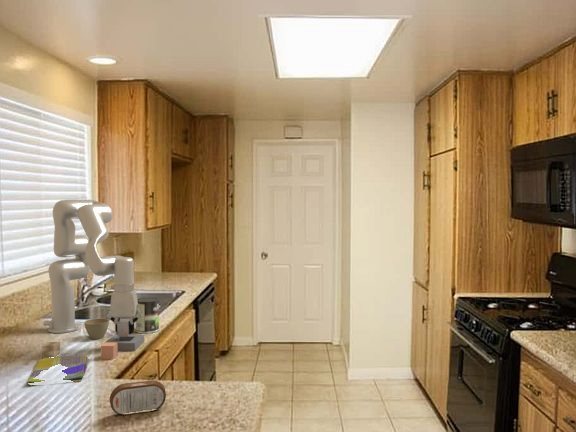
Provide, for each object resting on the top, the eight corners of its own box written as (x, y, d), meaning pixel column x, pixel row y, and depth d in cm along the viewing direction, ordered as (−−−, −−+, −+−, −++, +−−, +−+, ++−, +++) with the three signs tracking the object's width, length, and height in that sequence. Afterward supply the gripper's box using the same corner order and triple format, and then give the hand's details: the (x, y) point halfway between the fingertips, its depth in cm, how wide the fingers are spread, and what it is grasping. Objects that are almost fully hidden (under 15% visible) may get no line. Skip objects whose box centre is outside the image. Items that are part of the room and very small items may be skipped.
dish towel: (23, 389, 158) (23, 380, 158) (37, 364, 181) (37, 356, 181) (83, 383, 163) (83, 374, 163) (89, 360, 186) (89, 352, 186)
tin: (165, 406, 144) (165, 377, 144) (166, 410, 141) (166, 381, 141) (109, 414, 138) (109, 384, 138) (110, 419, 136) (109, 388, 135)
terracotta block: (101, 359, 186) (101, 345, 186) (105, 355, 190) (105, 342, 190) (113, 359, 186) (113, 345, 186) (117, 355, 190) (117, 342, 190)
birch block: (42, 358, 186) (42, 345, 186) (48, 355, 191) (47, 341, 190) (54, 358, 186) (54, 345, 186) (59, 355, 191) (59, 342, 190)
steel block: (117, 336, 200) (117, 321, 199) (121, 333, 204) (121, 318, 204) (128, 336, 199) (128, 321, 199) (132, 333, 204) (132, 318, 204)
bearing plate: (104, 350, 196) (104, 342, 196) (115, 341, 208) (115, 334, 208) (134, 350, 196) (134, 343, 196) (144, 341, 208) (144, 334, 208)
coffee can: (161, 327, 231) (161, 297, 231) (155, 333, 221) (155, 301, 220) (139, 327, 231) (139, 297, 231) (132, 333, 221) (131, 301, 220)
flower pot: (79, 338, 212) (79, 322, 212) (98, 333, 221) (97, 317, 221) (95, 342, 208) (95, 325, 207) (114, 336, 216) (114, 319, 216)
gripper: (99, 289, 198) (100, 336, 198) (142, 290, 197) (142, 336, 198) (106, 286, 205) (107, 331, 206) (148, 286, 205) (148, 331, 205)
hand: (124, 333), depth 202 cm, fingers closed on steel block, 4 cm apart
